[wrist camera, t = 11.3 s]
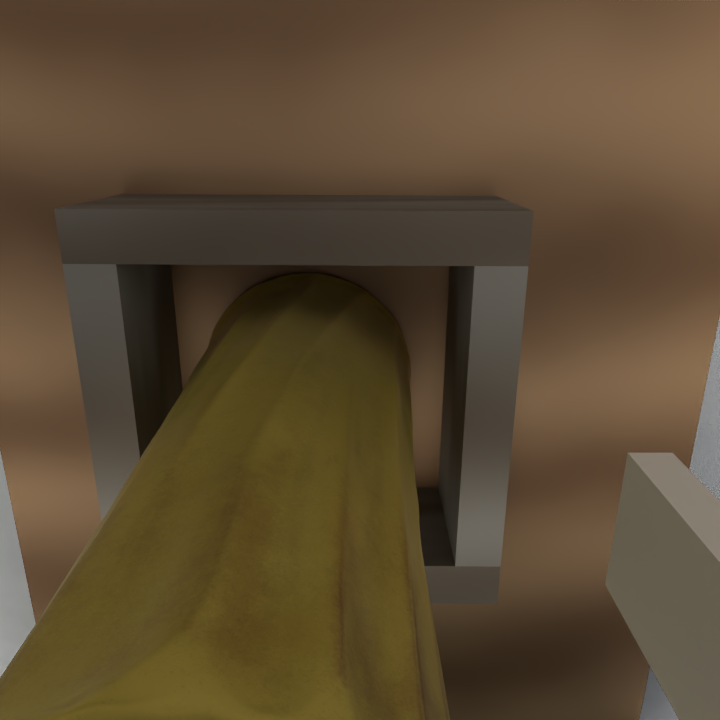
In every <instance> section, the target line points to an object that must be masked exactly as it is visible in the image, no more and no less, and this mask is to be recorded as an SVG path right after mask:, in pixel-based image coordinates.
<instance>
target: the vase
mask: <svg viewBox="0 0 720 720" xmlns="http://www.w3.org/2000/svg"><path fill="white" fill-rule="evenodd" d="M410 378H411V363H410V358H409V354H408V350H407V348H406V345H405V342H404V339H403V336H402V333H401V331H400V328H399V326H398V324H397V321H396V320H395V319H394V317H393V316H392V315H391V314H390V312H389V311H388V310H387V309H386V308H385V307H384V306H383V305H382V304H381V303H380V302H379V301H378V300H377V299H376V298H375V297H373V296H372V295H371V294H370V293H369V292H367V291H365V290H364V289H362V288H360V287H359V286H357V285H354V284H352V283H350V282H348V281H345V280H343V279H339V278H336V277H333V276H329V275H325V274H319V273H298V274H290V275H285V276H281V277H277V278H274V279H271V280H269V281H266V282H263V283H260V284H258V285H256V286H254V287H252V288H250V289H249V290H248V291H246V292H245V293H243V294H242V295H241V296H240V297H239V298H238V299H236V300H235V301H234V302H233V303H232V304H231V306H230V307H229V308H228V309H227V310H226V311H225V312H224V314H223V315H222V316H221V318H220V319H219V321H218V322H217V324H216V326H215V327H214V329H213V332H212V335H211V337H210V342H209V346H208V348H207V350H206V351H205V353H204V354H203V356H202V358H201V359H200V360H199V362H198V364H197V365H196V367H195V368H194V370H193V372H192V374H191V376H190V377H189V379H188V381H187V383H186V385H185V387H184V389H183V391H182V393H181V394H180V396H179V398H178V399H177V401H176V402H175V404H174V406H173V407H172V409H171V410H170V412H169V413H168V415H167V417H166V418H165V420H164V422H163V423H162V425H161V427H160V428H159V430H158V431H157V433H156V434H155V436H154V437H153V439H152V440H151V442H150V443H149V445H148V446H147V448H146V449H145V451H144V453H143V454H142V456H141V458H140V459H139V461H138V462H137V464H136V466H135V467H134V469H133V471H132V472H131V474H130V476H129V477H128V479H127V481H126V482H125V484H124V486H123V487H122V489H121V491H120V492H119V494H118V496H117V497H116V499H115V501H114V502H113V504H112V506H111V507H110V509H109V511H108V512H107V514H106V516H105V517H104V519H103V520H102V522H101V523H100V525H99V526H98V528H97V529H96V531H95V532H94V534H93V535H92V537H91V538H90V540H89V541H88V543H87V545H86V546H85V548H84V549H83V551H82V552H81V554H80V556H79V557H78V559H77V560H76V562H75V563H74V565H73V567H72V568H71V570H70V571H69V573H68V574H67V576H66V577H65V579H64V581H63V582H62V584H61V585H60V587H59V588H58V590H57V592H56V593H55V595H54V596H53V598H52V599H51V601H50V603H49V604H48V606H47V607H46V609H45V610H44V612H43V614H42V615H41V617H40V618H39V620H38V621H37V623H36V625H35V626H34V628H33V629H32V631H31V632H30V634H29V635H28V637H27V638H26V640H25V641H24V643H23V644H22V646H21V647H20V649H19V650H18V652H17V653H16V655H15V656H14V658H13V659H12V661H11V662H10V664H9V665H8V667H7V668H6V670H5V671H4V673H3V675H2V676H1V678H0V720H450V715H449V709H448V703H447V697H446V691H445V685H444V679H443V673H442V667H441V661H440V656H439V650H438V644H437V638H436V633H435V627H434V622H433V616H432V610H431V604H430V598H429V592H428V586H427V579H426V573H425V567H424V560H423V554H422V546H421V538H420V526H419V504H418V496H417V489H416V480H415V467H414V450H413V422H412V404H411V390H410Z"/></svg>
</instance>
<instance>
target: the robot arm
mask: <svg viewBox="0 0 720 720" xmlns="http://www.w3.org/2000/svg"><path fill="white" fill-rule="evenodd" d="M605 585H606V587H607V589H608V591H609V592H610V594H611V596H612V598H613V600H614V601H615V603H616V605H617V607H618V609H619V611H620V612H621V614H622V616H623V618H624V620H625V622H626V623H627V625H628V627H629V629H630V631H631V633H632V634H633V636H634V638H635V640H636V642H637V643H638V645H639V647H640V649H641V651H642V653H643V654H644V656H645V658H646V660H647V662H648V664H649V665H650V667H651V669H652V671H653V673H654V674H655V676H656V678H657V680H658V682H659V684H660V685H661V687H662V689H663V691H664V693H665V695H666V696H667V698H668V700H669V702H670V704H671V706H672V707H673V709H674V711H675V713H676V715H677V716H678V718H679V720H720V501H719V500H718V499H717V498H716V497H715V496H714V495H713V494H712V493H711V491H710V490H709V489H708V488H707V487H706V486H705V485H704V484H703V483H702V482H701V481H700V480H699V479H698V478H697V477H696V476H695V475H694V474H693V473H692V472H691V471H690V470H689V469H688V468H687V467H686V466H685V465H684V464H683V463H682V462H681V461H680V460H679V459H678V458H677V457H676V456H675V455H674V454H673V453H628V454H627V460H626V466H625V472H624V477H623V483H622V489H621V495H620V501H619V507H618V513H617V518H616V524H615V530H614V536H613V542H612V548H611V553H610V559H609V565H608V571H607V577H606V583H605Z"/></svg>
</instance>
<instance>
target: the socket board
mask: <svg viewBox="0 0 720 720" xmlns="http://www.w3.org/2000/svg"><path fill="white" fill-rule="evenodd" d="M298 273H319V274H325V275H329V276H333V277H336V278H339V279H343V280H345V281H348V282H350V283H352V284H354V285H357V286H359V287H360V288H362V289H364V290H365V291H367V292H369V293H370V294H371V295H372V296H373V297H375V298H376V299H377V300H378V301H379V302H380V303H381V304H382V305H383V306H384V307H385V308H386V309H387V310H388V311H389V312H390V314H391V315H392V316H393V317H394V319H395V320H396V321H397V324H398V326H399V328H400V331H401V333H402V336H403V339H404V342H405V345H406V348H407V350H408V354H409V358H410V363H411V378H410V390H411V404H412V422H413V450H414V467H415V480H416V489H417V496H418V504H419V526H420V538H421V546H422V554H423V560H424V567H425V573H426V579H427V586H428V592H429V598H430V604H431V610H432V616H433V622H434V627H435V633H436V638H437V644H438V650H439V656H440V661H441V667H442V673H443V679H444V685H445V691H446V697H447V703H448V709H449V715H450V720H639V718H640V713H641V708H642V703H643V698H644V693H645V688H646V683H647V678H648V673H649V668H650V665H649V664H648V662H647V660H646V658H645V656H644V654H643V653H642V651H641V649H640V647H639V645H638V643H637V642H636V640H635V638H634V636H633V634H632V633H631V631H630V629H629V627H628V625H627V623H626V622H625V620H624V618H623V616H622V614H621V612H620V611H619V609H618V607H617V605H616V603H615V601H614V600H613V598H612V596H611V594H610V592H609V591H608V589H607V587H606V585H605V583H606V577H607V571H608V565H609V559H610V553H611V548H612V542H613V536H614V530H615V524H616V518H617V513H618V507H619V501H620V495H621V489H622V483H623V477H624V472H625V466H626V460H627V454H628V453H673V454H674V455H675V456H676V457H677V458H678V459H679V460H680V461H681V462H682V463H683V464H684V465H685V466H686V467H687V468H688V469H689V467H690V461H691V456H692V451H693V446H694V441H695V436H696V431H697V426H698V421H699V416H700V411H701V406H702V401H703V396H704V391H705V386H706V381H707V376H708V371H709V366H710V361H711V356H712V351H713V346H714V341H715V336H716V331H717V326H718V321H719V316H720V0H0V451H1V455H2V460H3V465H4V470H5V475H6V480H7V485H8V490H9V495H10V499H11V504H12V509H13V514H14V519H15V524H16V529H17V534H18V538H19V543H20V548H21V553H22V558H23V563H24V568H25V573H26V578H27V582H28V587H29V592H30V597H31V602H32V607H33V612H34V617H35V622H36V623H37V621H38V620H39V618H40V617H41V615H42V614H43V612H44V610H45V609H46V607H47V606H48V604H49V603H50V601H51V599H52V598H53V596H54V595H55V593H56V592H57V590H58V588H59V587H60V585H61V584H62V582H63V581H64V579H65V577H66V576H67V574H68V573H69V571H70V570H71V568H72V567H73V565H74V563H75V562H76V560H77V559H78V557H79V556H80V554H81V552H82V551H83V549H84V548H85V546H86V545H87V543H88V541H89V540H90V538H91V537H92V535H93V534H94V532H95V531H96V529H97V528H98V526H99V525H100V523H101V522H102V520H103V519H104V517H105V516H106V514H107V512H108V511H109V509H110V507H111V506H112V504H113V502H114V501H115V499H116V497H117V496H118V494H119V492H120V491H121V489H122V487H123V486H124V484H125V482H126V481H127V479H128V477H129V476H130V474H131V472H132V471H133V469H134V467H135V466H136V464H137V462H138V461H139V459H140V458H141V456H142V454H143V453H144V451H145V449H146V448H147V446H148V445H149V443H150V442H151V440H152V439H153V437H154V436H155V434H156V433H157V431H158V430H159V428H160V427H161V425H162V423H163V422H164V420H165V418H166V417H167V415H168V413H169V412H170V410H171V409H172V407H173V406H174V404H175V402H176V401H177V399H178V398H179V396H180V394H181V393H182V391H183V389H184V387H185V385H186V383H187V381H188V379H189V377H190V376H191V374H192V372H193V370H194V368H195V367H196V365H197V364H198V362H199V360H200V359H201V358H202V356H203V354H204V353H205V351H206V350H207V348H208V346H209V342H210V337H211V335H212V332H213V329H214V327H215V326H216V324H217V322H218V321H219V319H220V318H221V316H222V315H223V314H224V312H225V311H226V310H227V309H228V308H229V307H230V306H231V304H232V303H233V302H234V301H235V300H236V299H238V298H239V297H240V296H241V295H242V294H243V293H245V292H246V291H248V290H249V289H250V288H252V287H254V286H256V285H258V284H260V283H263V282H266V281H269V280H271V279H274V278H277V277H281V276H285V275H290V274H298Z"/></svg>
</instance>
